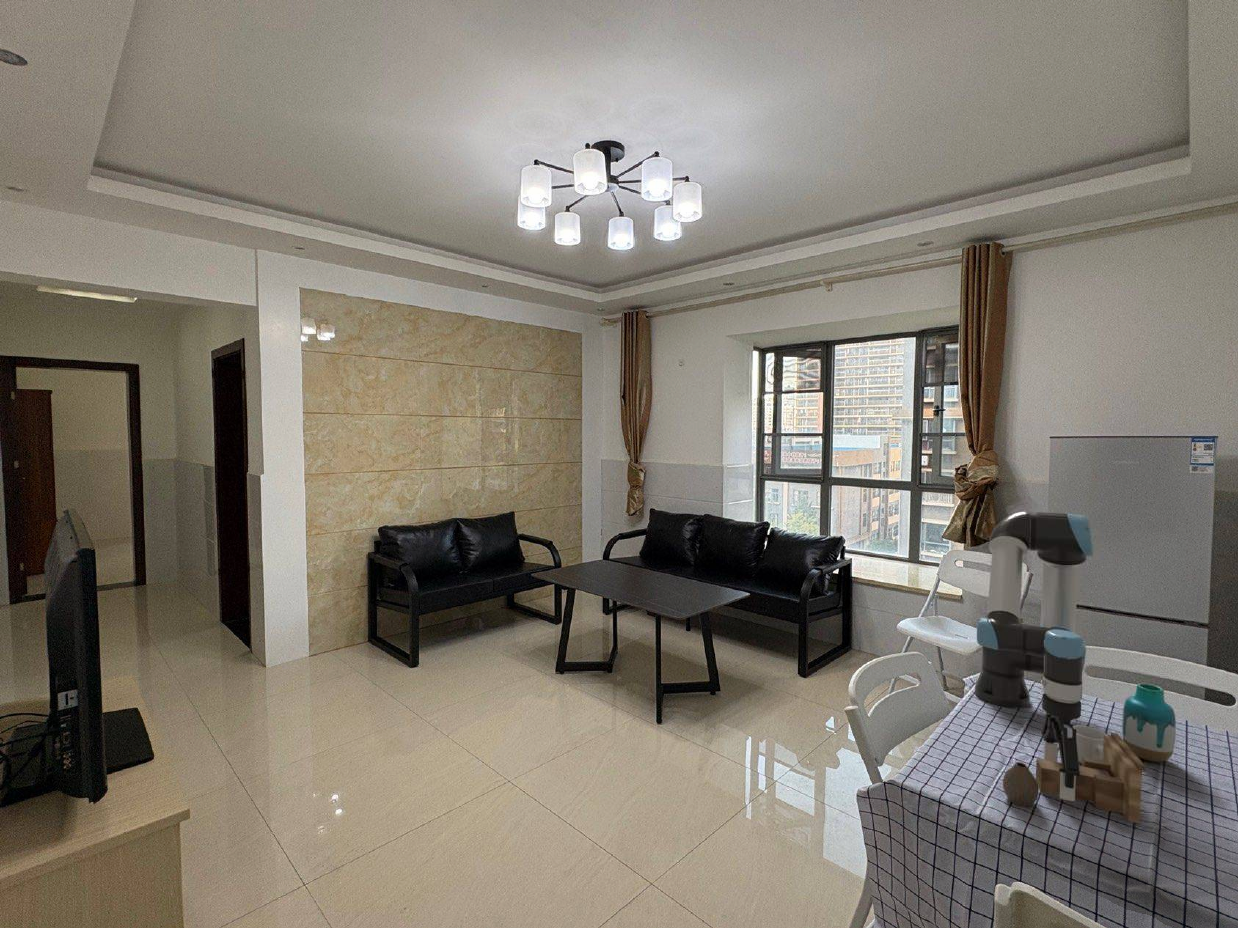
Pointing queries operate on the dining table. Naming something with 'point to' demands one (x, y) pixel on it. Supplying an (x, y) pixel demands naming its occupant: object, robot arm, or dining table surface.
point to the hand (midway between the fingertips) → (1058, 783)
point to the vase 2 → (1149, 724)
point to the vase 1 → (1020, 785)
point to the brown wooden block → (1051, 779)
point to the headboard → (1117, 779)
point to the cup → (1089, 742)
